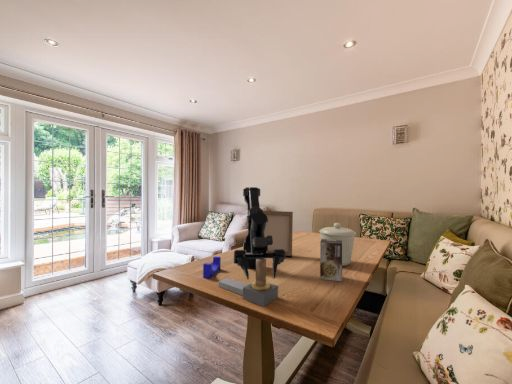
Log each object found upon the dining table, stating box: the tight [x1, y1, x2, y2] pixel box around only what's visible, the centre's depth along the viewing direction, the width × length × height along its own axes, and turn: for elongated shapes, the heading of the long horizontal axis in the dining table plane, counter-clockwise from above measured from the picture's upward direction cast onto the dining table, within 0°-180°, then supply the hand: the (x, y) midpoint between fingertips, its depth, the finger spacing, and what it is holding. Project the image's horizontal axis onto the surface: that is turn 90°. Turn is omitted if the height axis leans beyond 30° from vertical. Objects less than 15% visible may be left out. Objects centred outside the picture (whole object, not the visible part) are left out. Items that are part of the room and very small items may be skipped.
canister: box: [318, 222, 357, 267], centre depth 125 cm, size 18×18×21 cm
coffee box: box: [319, 238, 343, 282], centre depth 104 cm, size 9×6×16 cm
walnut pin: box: [251, 258, 271, 291], centre depth 85 cm, size 6×6×13 cm
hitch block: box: [218, 277, 279, 307], centre depth 89 cm, size 9×23×4 cm, turn 53°
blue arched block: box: [202, 256, 222, 279], centre depth 109 cm, size 12×4×6 cm, turn 166°
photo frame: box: [263, 210, 294, 257], centre depth 143 cm, size 15×22×25 cm
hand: (261, 278), depth 83 cm, fingers open, 9 cm apart
